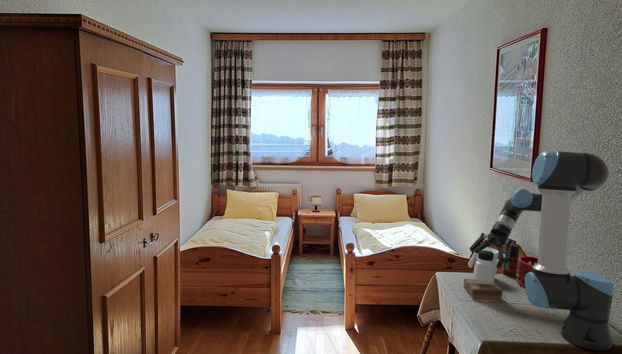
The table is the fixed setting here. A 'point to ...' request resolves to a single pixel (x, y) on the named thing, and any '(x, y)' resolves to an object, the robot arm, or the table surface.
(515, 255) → the deodorant
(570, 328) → the robot arm
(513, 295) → the table surface
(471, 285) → the walnut plinth
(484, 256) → the medicine bottle
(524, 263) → the plant pot
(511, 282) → the table surface
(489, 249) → the foam cup
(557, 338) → the table surface
